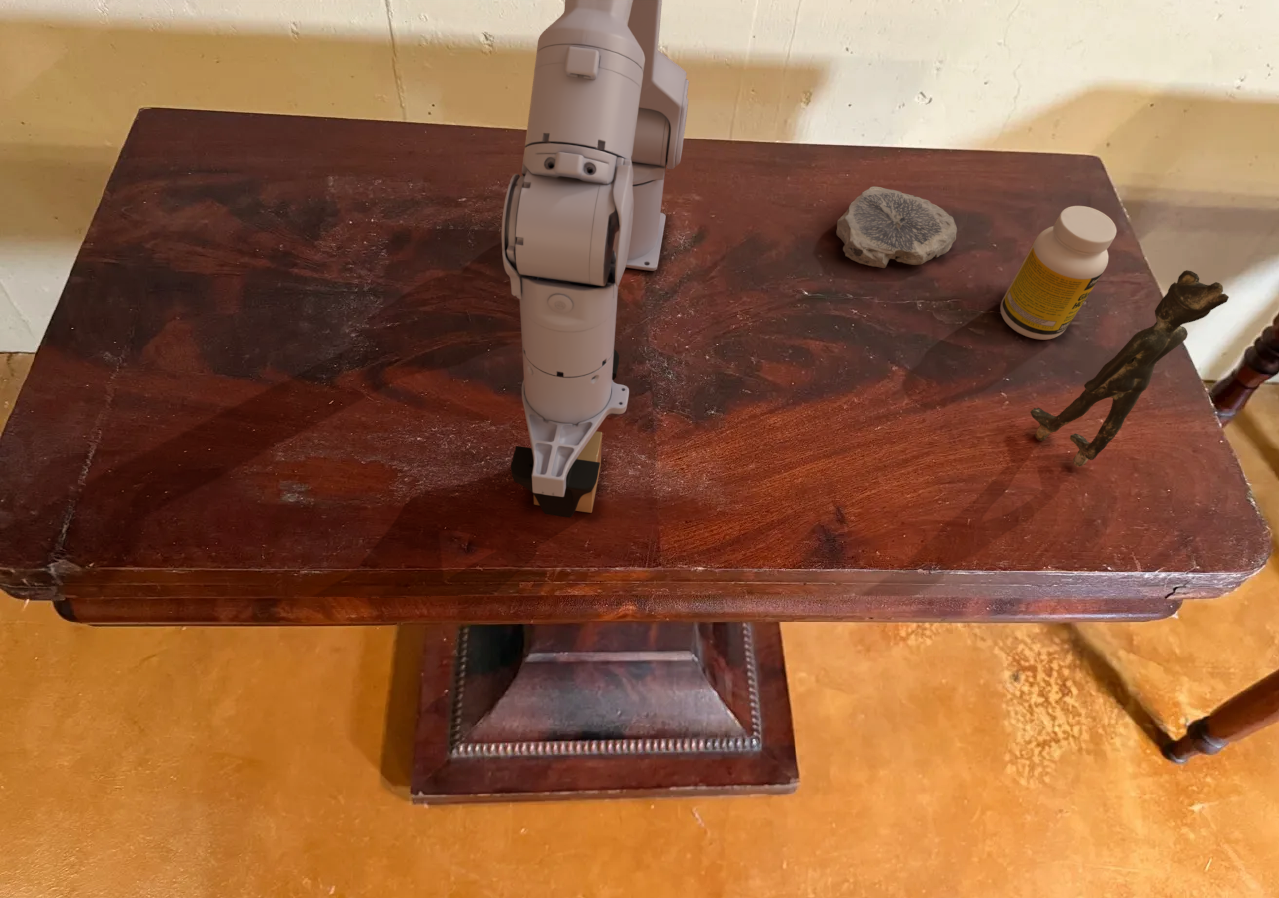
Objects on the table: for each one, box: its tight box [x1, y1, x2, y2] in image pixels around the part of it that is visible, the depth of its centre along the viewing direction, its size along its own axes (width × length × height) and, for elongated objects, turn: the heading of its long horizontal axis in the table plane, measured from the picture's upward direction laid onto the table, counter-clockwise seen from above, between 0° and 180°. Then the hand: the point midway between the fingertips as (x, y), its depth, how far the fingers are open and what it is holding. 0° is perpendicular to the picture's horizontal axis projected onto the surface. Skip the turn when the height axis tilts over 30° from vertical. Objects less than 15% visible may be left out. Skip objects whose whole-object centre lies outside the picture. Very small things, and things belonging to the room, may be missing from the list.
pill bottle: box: [999, 205, 1117, 341], centre depth 78 cm, size 6×6×11 cm
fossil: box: [836, 185, 958, 269], centre depth 86 cm, size 11×4×10 cm
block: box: [532, 430, 603, 514], centre depth 66 cm, size 4×4×4 cm
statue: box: [1030, 269, 1230, 468], centre depth 65 cm, size 5×6×20 cm
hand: (567, 468), depth 66 cm, fingers open, 7 cm apart
